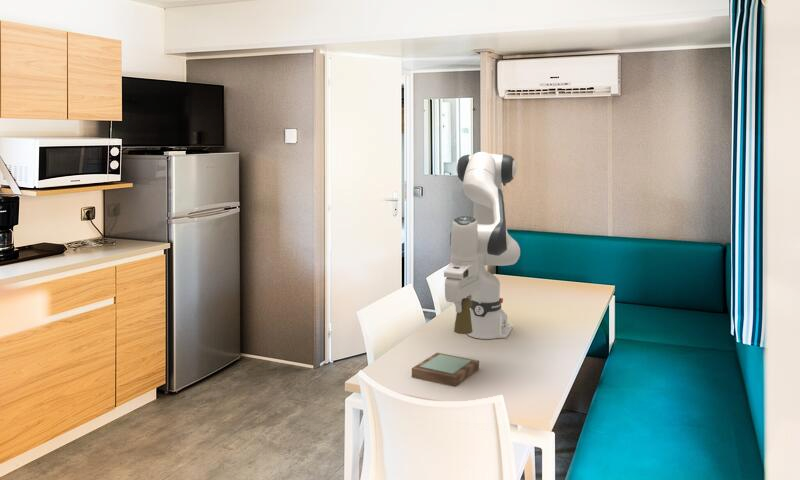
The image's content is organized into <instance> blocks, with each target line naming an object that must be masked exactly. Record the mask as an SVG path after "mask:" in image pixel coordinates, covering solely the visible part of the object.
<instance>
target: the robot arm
mask: <svg viewBox="0 0 800 480" xmlns="http://www.w3.org/2000/svg"><path fill="white" fill-rule="evenodd" d="M516 173H517V164H516V162H515V158H514V157H513V156H512V155H509V154H497V153H489V152H486V151H478V152H475V153H474V154H464V155H462V156H461V157H459V159H458V161H457V164H456V174H457V178H458V179H459V180H460V181H461V182H463V183H462V184H463V185H462V191H463V192H464V195H465V196H466V197H467V198H468V199H469V200H470V201H472V202H473V216H470V215H469V216H467V215H463V216H458V217H456V218H454V219H453V220H452V226H451V231H450V232H449V233H450V234H449V245H450V248H451V254H450V262H449V263H448V266H447V267H446V268H445V269H444V272H443V278H445V281H444V298H445V301H446V302H448V303H454V306H455V312H456V313H457V312H458V313H460V312H462V311H463V306H461V302H462V299H464V298H468V299H470V300H471V302H472V306H471V308H470V314H471V323H472V333H470V334H466V335H467V336H469V337H471V338H474V339H475V338H476V339H481V340H491V339H504V338H505V339H507V338H508V337H509V335H510V333H511V332H512V330H513V328H514V326H513V324H509V323H508V314H507V313H506V312H505V311H504V310H503V309H502V303H503V302H504V298H503V297H500V294H501V291H500V290H501V287H500V286H501V283H500V280H499V278H498V277H497V276H496V275H494V274H493V273H491V272H489V271H488V270H487V269H486V266H498V267H499V266H500V267H504V266H511V265H515V264H516V263H518V260H519V259H520V256H521V248H520V245H519V243H518V242H517V240H515V239H514V238H513V237H512V236H511V235H510V234H509V233H508V228H507V225H506V209H505V208H506V207H505V202H504V201H505V200H504V194H503V186H504V187H506V185H507V184H509V183H511V182H512V181H513V180H514V178H515V177H516V176H515V175H516ZM502 185H503V186H502Z"/></svg>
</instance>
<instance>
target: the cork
mask: <svg viewBox="0 0 800 480" xmlns="http://www.w3.org/2000/svg"><path fill="white" fill-rule="evenodd" d="M461 306H463V311H462V312H460V313H458V312H456V314H455V321H454V329H453V332H454V333H455V334H458V335H467V334H470V333H472V323H471V314H470V309H471V306H472V302H471V300H470V299H468V298H466V297H465V298H464V299H462V302H461Z"/></svg>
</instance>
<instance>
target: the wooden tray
mask: <svg viewBox="0 0 800 480" xmlns="http://www.w3.org/2000/svg"><path fill="white" fill-rule="evenodd" d="M479 369H480V360H477V359H473V358H468V357H463V356H462V357H461V356H457V355H453V354H447V353H442V352H436V353H433V354H432V355H431V356H429V357H427V358H426V359H424V360H422V361H421V362H419V363H418V364H416V365H414V366H413V367H411V378H415V379H420V380H423V381H429V382H433V383H438V384H441V385H442V384H443V385H447V386H452V387H458V386H459V385H460V384H461V383H463V382H464V381H466V380H467V379H468V378H470V376H472V375H473V374H474V373H476V372H477V371H478V370H479Z"/></svg>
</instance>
